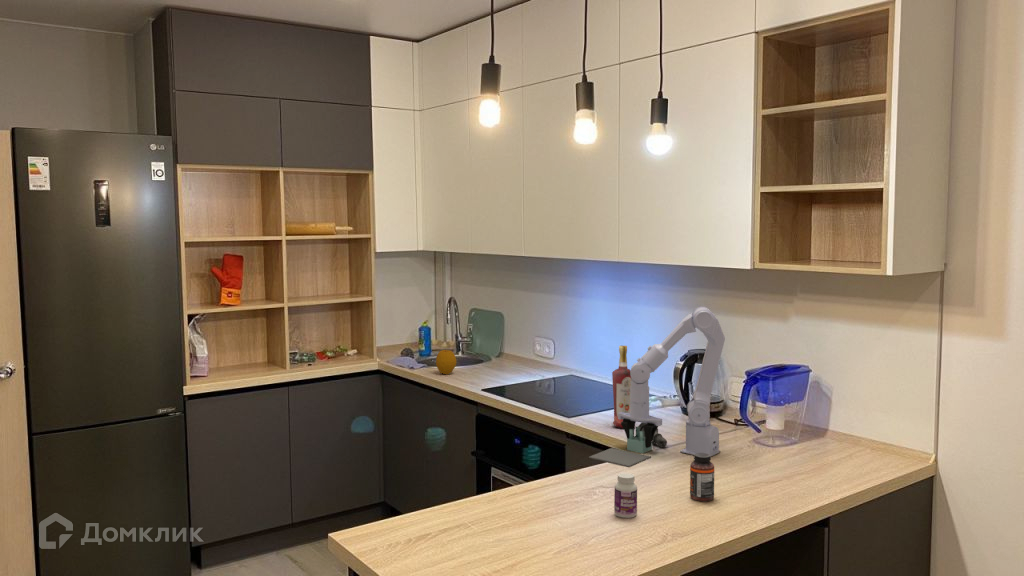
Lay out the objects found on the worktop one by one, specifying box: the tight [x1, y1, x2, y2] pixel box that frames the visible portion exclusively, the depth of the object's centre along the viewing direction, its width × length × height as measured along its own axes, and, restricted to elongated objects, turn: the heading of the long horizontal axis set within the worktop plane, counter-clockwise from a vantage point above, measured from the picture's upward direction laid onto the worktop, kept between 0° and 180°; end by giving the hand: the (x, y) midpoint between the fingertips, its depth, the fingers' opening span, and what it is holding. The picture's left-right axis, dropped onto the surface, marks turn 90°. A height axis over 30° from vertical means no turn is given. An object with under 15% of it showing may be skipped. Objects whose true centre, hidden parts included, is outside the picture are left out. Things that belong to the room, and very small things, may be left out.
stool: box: [626, 426, 653, 454], centre depth 242 cm, size 6×6×6 cm
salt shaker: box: [637, 422, 668, 448], centre depth 248 cm, size 6×6×12 cm
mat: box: [588, 447, 652, 468], centre depth 234 cm, size 14×12×1 cm
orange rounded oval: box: [435, 349, 457, 375], centre depth 369 cm, size 10×10×12 cm
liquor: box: [611, 345, 632, 430], centre depth 269 cm, size 7×7×28 cm
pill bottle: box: [613, 472, 638, 519], centre depth 188 cm, size 5×5×10 cm
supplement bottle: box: [689, 453, 715, 502], centre depth 199 cm, size 6×6×11 cm
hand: (639, 445), depth 242 cm, fingers closed on stool, 5 cm apart
